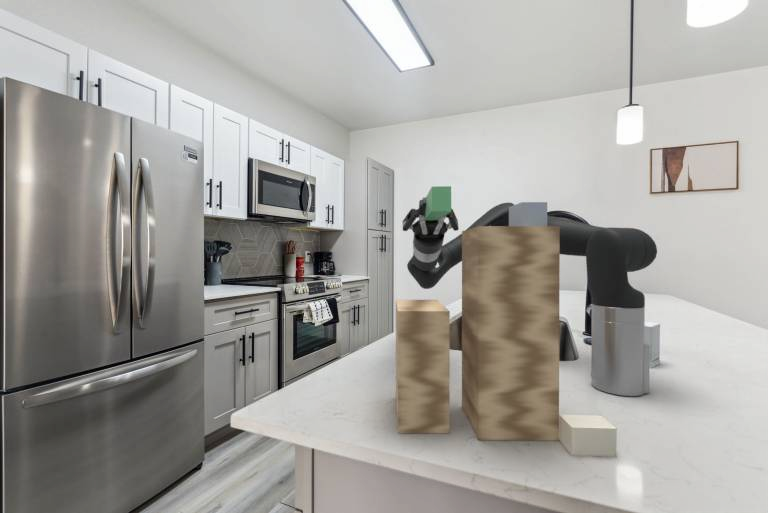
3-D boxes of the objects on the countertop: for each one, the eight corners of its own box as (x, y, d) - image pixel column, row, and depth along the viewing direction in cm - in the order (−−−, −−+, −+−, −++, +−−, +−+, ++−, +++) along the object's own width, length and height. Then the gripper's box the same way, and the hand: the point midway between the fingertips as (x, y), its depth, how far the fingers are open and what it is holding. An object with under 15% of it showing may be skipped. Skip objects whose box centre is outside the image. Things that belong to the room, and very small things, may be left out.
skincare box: (604, 358, 96) (604, 319, 96) (614, 354, 100) (615, 316, 100) (651, 368, 87) (651, 325, 87) (660, 364, 91) (660, 322, 91)
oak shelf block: (527, 406, 66) (528, 231, 66) (558, 440, 54) (559, 226, 54) (461, 406, 66) (462, 231, 66) (478, 440, 54) (478, 226, 54)
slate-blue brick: (531, 230, 63) (531, 207, 63) (547, 227, 57) (547, 202, 57) (508, 230, 63) (508, 207, 63) (521, 227, 57) (521, 202, 57)
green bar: (438, 220, 85) (438, 201, 85) (451, 211, 65) (451, 186, 65) (423, 221, 85) (423, 202, 85) (431, 211, 65) (431, 186, 65)
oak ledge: (436, 397, 70) (436, 299, 70) (449, 433, 56) (449, 311, 56) (395, 397, 70) (395, 299, 70) (397, 433, 56) (397, 311, 56)
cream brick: (600, 442, 54) (600, 415, 54) (616, 457, 50) (616, 428, 50) (559, 441, 54) (559, 414, 54) (571, 456, 50) (571, 427, 50)
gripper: (456, 254, 91) (468, 214, 76) (400, 255, 91) (401, 214, 76) (454, 229, 94) (465, 186, 79) (400, 230, 95) (400, 187, 80)
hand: (433, 200), depth 78 cm, fingers closed on green bar, 3 cm apart
